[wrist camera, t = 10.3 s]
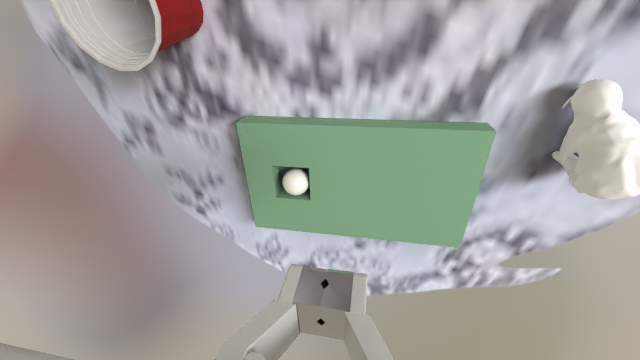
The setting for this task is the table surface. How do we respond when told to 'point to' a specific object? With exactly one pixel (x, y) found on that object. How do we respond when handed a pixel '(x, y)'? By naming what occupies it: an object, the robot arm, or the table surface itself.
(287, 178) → the ball
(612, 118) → the white snowman figurine
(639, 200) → the table surface
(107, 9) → the plastic cup
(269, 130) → the green
